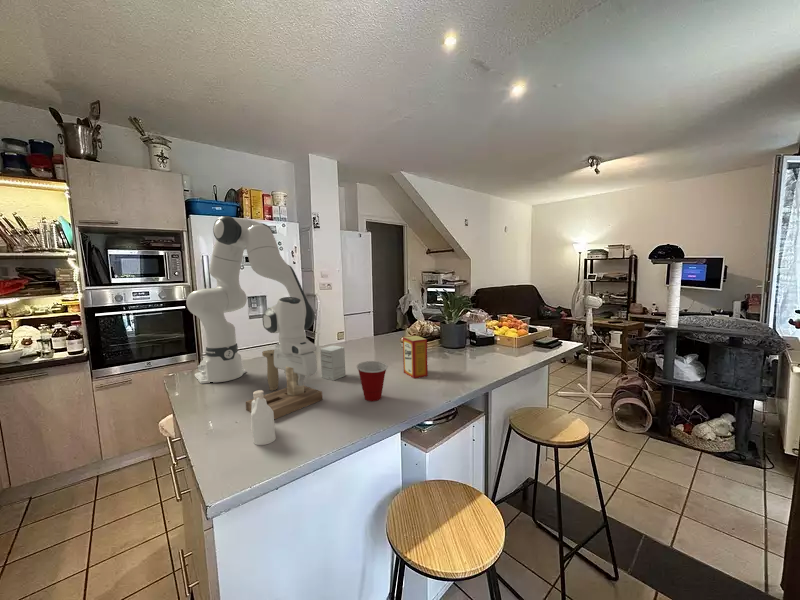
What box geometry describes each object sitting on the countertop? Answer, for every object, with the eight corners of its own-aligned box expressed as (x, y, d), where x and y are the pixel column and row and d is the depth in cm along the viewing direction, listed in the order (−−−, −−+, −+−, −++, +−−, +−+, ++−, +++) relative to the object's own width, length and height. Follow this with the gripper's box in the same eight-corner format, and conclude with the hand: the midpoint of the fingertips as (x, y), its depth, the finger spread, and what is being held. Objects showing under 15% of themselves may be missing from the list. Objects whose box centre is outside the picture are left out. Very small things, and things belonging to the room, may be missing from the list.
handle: (282, 390, 125) (280, 351, 124) (264, 392, 123) (262, 353, 121) (282, 386, 130) (280, 348, 128) (264, 388, 127) (262, 350, 126)
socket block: (246, 410, 107) (245, 401, 107) (298, 391, 123) (297, 383, 123) (269, 421, 99) (269, 411, 99) (322, 399, 115) (322, 391, 114)
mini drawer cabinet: (334, 373, 144) (332, 345, 143) (346, 376, 140) (344, 347, 139) (321, 377, 139) (319, 348, 137) (333, 381, 134) (331, 350, 133)
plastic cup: (372, 407, 107) (371, 371, 106) (351, 399, 114) (350, 365, 113) (395, 397, 115) (394, 364, 114) (374, 390, 122) (373, 358, 121)
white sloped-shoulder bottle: (277, 394, 88) (261, 402, 83) (280, 437, 89) (264, 447, 84) (261, 391, 91) (244, 399, 85) (263, 433, 92) (247, 443, 87)
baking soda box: (403, 372, 143) (402, 336, 142) (416, 370, 146) (416, 334, 144) (413, 378, 135) (413, 340, 133) (427, 376, 137) (426, 338, 136)
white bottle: (250, 434, 91) (247, 396, 90) (250, 426, 96) (248, 390, 95) (271, 430, 93) (268, 393, 92) (270, 422, 98) (268, 387, 97)
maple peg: (287, 394, 114) (285, 366, 113) (297, 391, 117) (295, 363, 116) (294, 397, 111) (292, 368, 110) (304, 393, 114) (302, 365, 113)
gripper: (267, 343, 116) (270, 381, 117) (303, 350, 104) (305, 392, 105) (283, 339, 121) (285, 376, 122) (319, 346, 109) (321, 386, 110)
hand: (295, 383), depth 114 cm, fingers closed on maple peg, 4 cm apart
